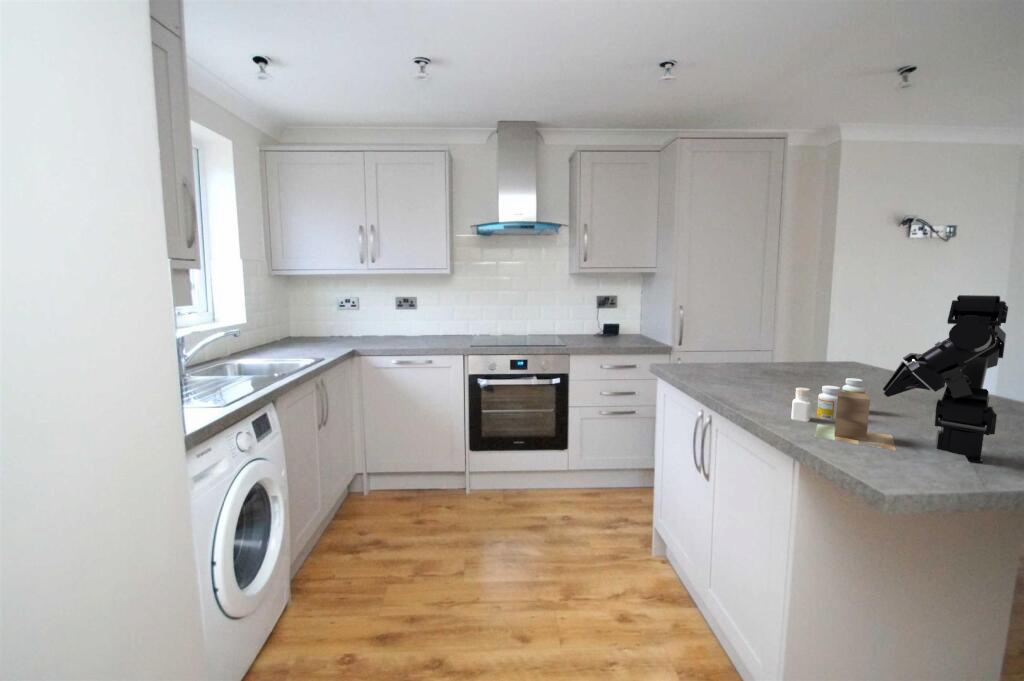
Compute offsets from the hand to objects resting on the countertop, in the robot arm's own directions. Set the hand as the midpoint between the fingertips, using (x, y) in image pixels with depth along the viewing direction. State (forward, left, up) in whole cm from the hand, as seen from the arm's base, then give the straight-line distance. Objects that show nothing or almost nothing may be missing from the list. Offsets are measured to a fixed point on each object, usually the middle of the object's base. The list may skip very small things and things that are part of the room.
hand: (885, 393), depth 103 cm
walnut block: (+6, 0, -11) cm, 13 cm away
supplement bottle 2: (+5, -31, -13) cm, 34 cm away
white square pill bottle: (+16, -9, -13) cm, 23 cm away
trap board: (+5, 0, -13) cm, 14 cm away
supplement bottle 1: (+10, -15, -13) cm, 22 cm away
